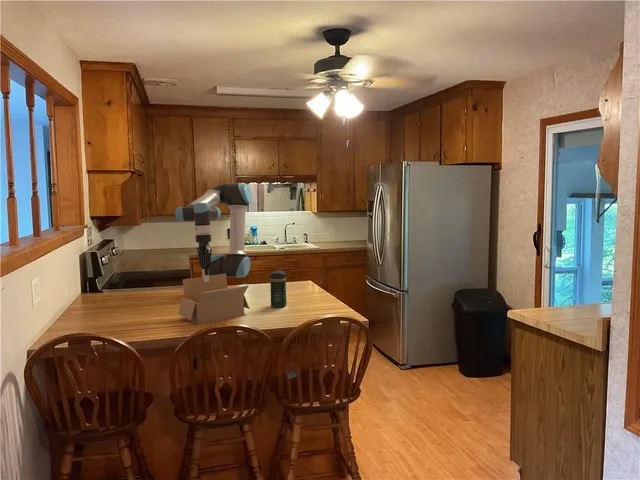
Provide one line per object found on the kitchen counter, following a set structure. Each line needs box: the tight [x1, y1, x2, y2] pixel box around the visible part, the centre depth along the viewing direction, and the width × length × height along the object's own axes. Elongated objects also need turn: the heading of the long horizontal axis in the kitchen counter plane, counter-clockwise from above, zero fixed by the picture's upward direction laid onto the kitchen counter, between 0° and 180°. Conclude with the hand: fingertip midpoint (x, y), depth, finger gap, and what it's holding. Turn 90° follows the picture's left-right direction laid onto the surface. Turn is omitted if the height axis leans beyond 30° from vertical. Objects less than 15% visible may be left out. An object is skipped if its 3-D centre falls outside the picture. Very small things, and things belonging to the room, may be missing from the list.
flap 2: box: [199, 284, 249, 303], centre depth 237 cm, size 1×23×8 cm
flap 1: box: [182, 274, 228, 297], centre depth 254 cm, size 1×23×8 cm, turn 127°
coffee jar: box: [269, 269, 288, 309], centre depth 265 cm, size 10×8×19 cm
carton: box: [177, 294, 250, 326], centre depth 248 cm, size 16×31×10 cm, turn 127°
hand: (206, 281), depth 253 cm, fingers closed
